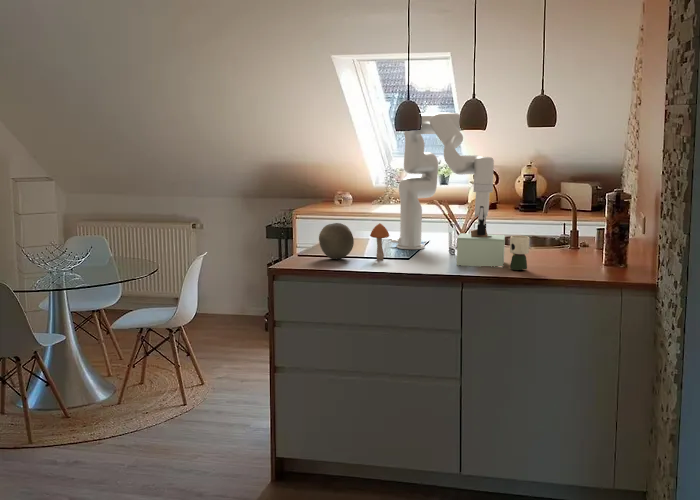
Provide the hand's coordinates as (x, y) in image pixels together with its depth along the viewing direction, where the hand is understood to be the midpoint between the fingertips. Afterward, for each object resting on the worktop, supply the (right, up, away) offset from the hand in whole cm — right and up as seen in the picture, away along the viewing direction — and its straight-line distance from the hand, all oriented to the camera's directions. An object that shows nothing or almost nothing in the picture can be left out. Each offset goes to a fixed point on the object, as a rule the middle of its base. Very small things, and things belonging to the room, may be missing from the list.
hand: (481, 234), depth 320 cm
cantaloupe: (-58, -11, +8) cm, 60 cm away
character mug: (+12, -14, -12) cm, 22 cm away
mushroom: (-40, -10, +10) cm, 43 cm away
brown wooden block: (0, -3, +1) cm, 3 cm away
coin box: (0, -12, +2) cm, 12 cm away
